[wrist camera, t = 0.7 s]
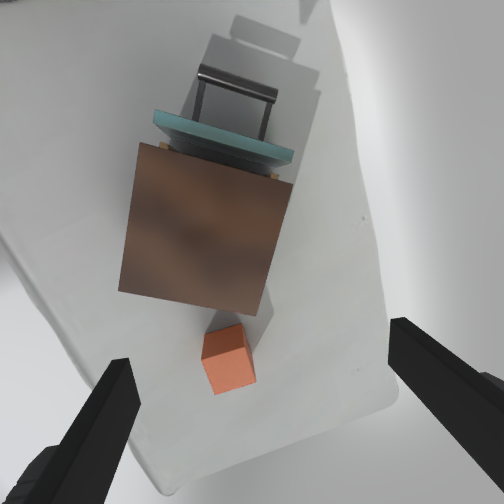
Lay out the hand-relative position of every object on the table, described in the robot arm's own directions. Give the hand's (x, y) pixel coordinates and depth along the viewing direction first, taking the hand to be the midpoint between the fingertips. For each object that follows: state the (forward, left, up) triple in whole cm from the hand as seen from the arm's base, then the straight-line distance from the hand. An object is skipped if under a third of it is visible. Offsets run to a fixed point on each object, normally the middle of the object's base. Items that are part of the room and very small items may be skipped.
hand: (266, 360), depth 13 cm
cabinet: (-4, -3, -25) cm, 25 cm away
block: (+15, -6, -25) cm, 29 cm away
